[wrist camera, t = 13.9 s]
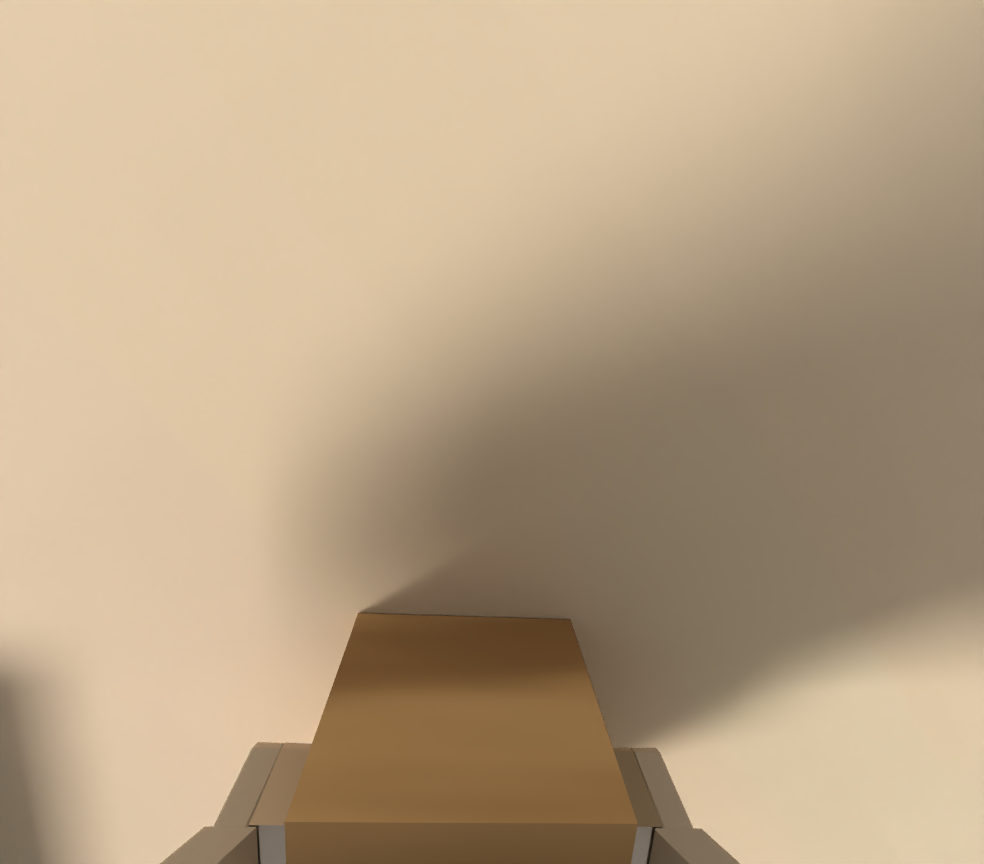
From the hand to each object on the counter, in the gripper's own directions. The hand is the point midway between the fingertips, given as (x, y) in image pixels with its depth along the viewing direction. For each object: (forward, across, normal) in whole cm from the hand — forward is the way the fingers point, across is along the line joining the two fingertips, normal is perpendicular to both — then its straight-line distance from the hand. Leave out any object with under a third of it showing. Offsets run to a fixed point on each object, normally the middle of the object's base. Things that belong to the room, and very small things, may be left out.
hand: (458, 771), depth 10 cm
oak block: (+2, 0, 0) cm, 2 cm away
